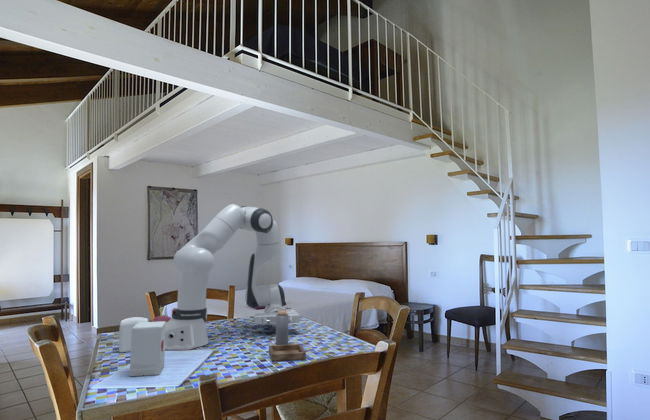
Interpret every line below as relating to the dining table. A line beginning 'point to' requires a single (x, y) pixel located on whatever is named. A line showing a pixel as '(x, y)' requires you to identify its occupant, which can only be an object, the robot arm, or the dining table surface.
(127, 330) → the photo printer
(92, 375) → the dining table surface
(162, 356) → the supplement box
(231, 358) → the dining table surface
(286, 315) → the canister
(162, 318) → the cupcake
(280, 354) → the tray
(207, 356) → the dining table surface
